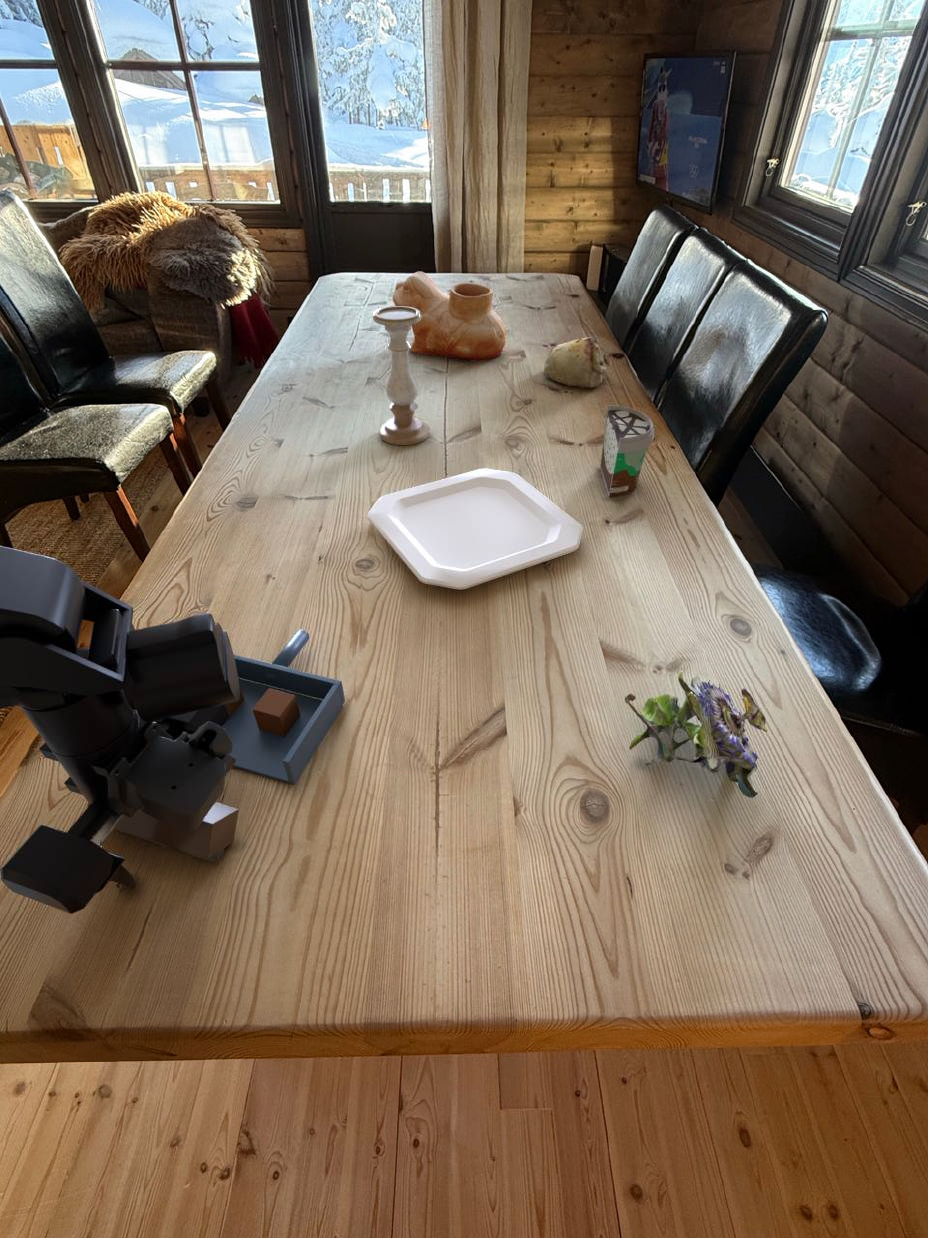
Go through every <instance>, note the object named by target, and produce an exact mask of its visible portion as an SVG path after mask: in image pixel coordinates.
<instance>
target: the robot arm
mask: <svg viewBox="0 0 928 1238" xmlns="http://www.w3.org/2000/svg"><path fill="white" fill-rule="evenodd" d="M133 619H134V608H133V606H132V605H130V604H128V603H126V602H124V601H122V600H120V599H119V598H117V597H115V596H113V595H110V594H108V593H107V592H105V591H103V590H101V589H99V588H98V587H96V586H94V585H91V584H90V583H88V582H86V581H85V580H82V579H80V578H79V577H78V574H77V571H76V570H74V569H73V568H72V567H71V566H69V565H68V564H66V563H64V562H62V561H60V560H58V559H56V558H54V557H50V556H47V555H42V554H38V553H34V552H29V551H25V550H20V549H16V548H11V547H7V546H2V545H0V710H3V709H8V708H11V707H19V708H20V709H21V710H22V712H23V713H24V714H25V716H26V717H27V718H28V720H29V721H30V723H31V724H32V725H33V727H34V728H35V730H36V731H37V732H38V734H39V735H40V737H41V738H42V740H43V744H42V745H41V746H40V747H39V748H38V750H39V751H40V753H41V755H43V757H44V758H46V759H49V760H52V761H55V762H58V763H59V764H60V765H61V766H62V768H63V769H64V771H65V772H66V773H67V775H68V776H69V777H68V778H67V779H66V780H65V781H64V782H63V784H64V785H65V787H66V788H67V789H68V791H69V792H72V793H75V794H78V795H81V796H83V797H84V798H85V801H87V803H88V802H89V803H90V806H89V807H88V806H87V808H86V809H85V810H84V811H83V813H81V815H80V816H79V817H78V818H77V819H76V821H74V823H73V824H72V825H71V827H70V828H69V829H68V830H67V831H64V830H61V829H58V828H55V827H51V826H49V825H46V824H43V823H41V824H40V825H39V826H37V828H35V830H34V831H33V832H32V833H31V834H30V835H29V836H28V838H27V839H26V840H24V842H23V843H22V844H21V845H20V846H19V847H18V848H17V850H16V851H14V853H13V855H12V856H10V857H9V859H8V860H7V861H6V863H4V864H3V865H2V866H1V868H0V879H1V882H2V883H3V884H4V885H5V886H6V887H7V888H8V889H9V890H10V891H11V892H12V893H14V894H17V895H20V896H23V897H25V898H28V899H30V900H33V901H36V902H39V903H41V904H44V905H46V906H49V907H51V908H54V909H57V910H60V911H62V912H65V913H67V914H70V915H73V914H75V913H78V912H80V911H82V910H84V909H85V908H86V907H87V905H88V904H89V903H90V901H91V900H92V899H93V898H94V896H96V895H97V894H99V893H100V892H102V891H103V890H104V889H105V887H106V886H107V884H108V883H109V882H113V883H117V884H119V885H122V886H125V887H128V888H130V889H134V888H135V887H136V886H137V882H136V880H135V878H134V876H133V875H132V874H131V872H130V871H128V869H126V868H125V866H124V865H122V864H123V863H124V862H125V860H126V858H125V857H122V856H119V855H116V854H113V853H111V852H109V851H108V850H106V849H104V847H103V843H104V842H105V840H107V838H108V837H109V835H110V834H111V833H112V832H113V831H114V830H115V829H114V828H115V827H116V825H117V824H118V823H119V822H120V820H121V819H122V818H123V817H124V816H127V817H130V818H132V816H133V815H134V814H135V813H136V811H137V810H139V809H140V810H141V811H142V812H143V813H145V814H147V815H149V816H151V817H153V818H155V819H157V820H159V821H162V822H164V823H166V824H168V825H170V826H172V827H173V828H174V829H176V830H178V831H180V832H184V833H188V832H192V831H194V830H196V829H197V828H198V827H199V826H200V825H201V823H202V822H203V820H204V818H205V816H206V815H207V814H208V812H209V811H210V809H211V808H212V806H213V805H214V803H215V802H217V800H219V799H220V797H221V796H222V794H223V792H224V790H225V781H226V777H227V776H228V773H230V771H231V770H232V768H233V765H234V764H235V762H236V759H235V758H234V757H233V756H232V755H230V753H231V752H232V746H233V745H232V741H231V739H230V738H229V736H228V734H227V732H226V730H225V729H224V728H223V727H222V726H223V725H224V724H225V722H226V721H227V720H228V718H229V717H230V716H229V713H228V710H227V707H226V705H225V704H228V703H232V702H237V701H239V698H240V688H239V680H238V673H237V668H236V663H235V659H234V654H235V653H234V651H233V647H232V644H231V640H230V636H229V634H228V632H227V630H224V629H223V627H222V625H221V624H220V623H219V622H215V619H214V616H213V614H212V613H210V612H205V613H200V614H195V615H190V616H188V617H186V618H183V619H180V620H178V621H173V622H167V623H163V624H158V625H153V626H147V627H142V628H138V629H136V628H135V626H134V624H133ZM83 621H86V622H91V623H93V625H92V631H91V636H90V642H89V647H78V645H79V642H80V641H79V640H80V635H81V632H82V631H81V630H82V625H83Z"/></svg>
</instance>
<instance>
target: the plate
mask: <svg viewBox="0 0 928 1238" xmlns="http://www.w3.org/2000/svg"><path fill="white" fill-rule="evenodd" d="M366 517H367V520H369V522H370V523H371V524H372V525H373V527H374V528H375V529H376V530H377V531H378V533H379V534H380V535H381V536H382V537H383V539H384V540H385V541H386V542H387V543H388V545H389V546H390V547H391V548H392V550H393V551H394V552H395V553H396V554H397V555H398V557H399V558H400V559H401V560H402V562H403V563H404V564H405V565H406V566H407V567H408V569H409V570H410V571H411V572H412V574H413V575H414V576H415V577H416V578H417V579H418V581H419V582H421V583H423V584H425V585H430V586H436V587H441V588H447V589H453V590H466V589H470V588H473V587H476V586H479V585H481V584H485V583H487V582H490V581H493V580H496V579H498V578H501V577H504V576H507V575H511V574H513V573H516V572H518V571H521V570H524V569H527V568H530V567H533V566H536V565H539V564H542V563H545V562H547V561H550V560H553V559H556V558H559V557H561V556H565V555H567V554H571V553H573V552H576V551H577V550H578V549H579V548H580V543H581V540H582V536H583V533H584V527H583V525H582V524H581V523H580V522H579V521H578V520H576V519H575V518H573V517H572V516H571V515H570V514H568V513H567V512H566V511H564V510H563V509H562V508H561V507H559V506H558V505H557V504H555V502H553V501H552V500H551V499H549V498H548V497H547V496H545V495H544V494H543V493H541V492H540V491H539V490H538V489H536V488H535V487H534V486H533V485H531V484H530V483H529V482H527V481H526V480H525V479H524V478H522V477H521V476H520V475H519V474H517V473H516V472H513V471H507V470H499V469H491V468H477V469H474V470H471V471H468V472H467V471H466V472H464V473H460V474H457V475H453V476H449V477H446V478H441V479H438V480H435V481H431V482H427V483H424V484H423V483H422V484H420V485H415V486H413V487H409V488H405V489H402V490H401V489H400V490H398V491H394V492H391V493H387V494H384V495H381V496H380V497H378V499H377V500H376V501H375V503H374V504H373V506H372V507H371V508H370V509H369V511H368V512H367V516H366Z"/></svg>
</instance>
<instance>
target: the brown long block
mask: <svg viewBox="0 0 928 1238" xmlns="http://www.w3.org/2000/svg"><path fill="white" fill-rule="evenodd" d="M89 806H90V803H89V802H88V801H87V808H88V807H89ZM239 810H240V809H239V808H237V807H233V806H230V805H227V804H224V803H221V802H217V801H216V802H215V803H214V805H213V806H212V808H211V809H210V811H209V812H208V814H207V815H206V816H205V818H204V820H203V822H202V823H201V825H200V826H199V827H198V828H197V829H196V830H194V831H192V832H188V833H184V832H180V831H178V830H176V829H174V828H173V827H172V826H170V825H168V824H166V823H164V822H162V821H159V820H157V819H155V818H153V817H151V816H149V815H147V814H145V813H143V812H142V811H141V810H140V809H139V810H137V811H136V813H135V814H134V815H133V816H132V818H130V817H127V816H124V817H123V818H122V819H121V820H120V822H119V823H118V824H117V825H116V827H115V828H114V829H113V830H115V831H117V832H121V833H124V834H126V835H130V836H133V837H135V838H139V839H142V840H145V841H148V842H151V843H153V844H156V845H159V846H162V847H165V848H168V849H171V850H173V851H177V852H180V853H183V854H186V855H188V856H191V857H195V858H197V859H200V860H203V861H206V862H209V863H212V864H216V865H217V864H218V863H219V862H221V861H222V860H223V859H224V853H225V848H227V847H229V846H230V845H232V844H233V843H234V842H235V836H236V830H237V825H238V823H237V822H238V816H239Z"/></svg>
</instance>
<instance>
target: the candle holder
mask: <svg viewBox="0 0 928 1238" xmlns="http://www.w3.org/2000/svg"><path fill="white" fill-rule="evenodd" d="M421 318H422V316H421V312H420V311H419V310H418V309H416V308H413V307H407V306H396V305H391V306H385V307H381V308H378V309H376V310H375V311H373V314H372V320H373V322H374V323H376V324H377V325H381V326H384V330H385V331H386V332H387V334H388V335H389V338H390V339H389V342H388V344H387V346H386V347H387V350H389V351H390V355H391V368H390V369H391V370H390V374H389V377H388V379H387V382H386V386H385V393H386V396H387V398H388V400H389V401H391V402H390V404H389V408H388V409H389V410H390V412H391V413H392V414H393V417H391V418H389V419H387V420H386V421H385V423H383V424H382V426H381V427H380V429H379V437H380V438H381V439H382V441H384V442H386V443H388V444H391V445H396V446H410V445H411V446H412V445H416V444H419V443H421V442H424V441H426V440H427V439H428V438H429V437H430V434H431V429H430V426H429V424H427V423H426V422H425V421H423V419H421V418H420V417H418V416H415V413H416V410H417V409H418V404H417V402H415V401H416V399H417V397H418V395H419V385H418V383H417V381H416V379H415V377H414V375H413V373H412V370H411V366H410V358H409V351H410V350H409V349H410V348H411V345H412V344H411V343H410V341H409V339H408V334H409V332H410V331H411V330H412V326H411V324H415V323H417V322H419V321H420V320H421Z"/></svg>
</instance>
